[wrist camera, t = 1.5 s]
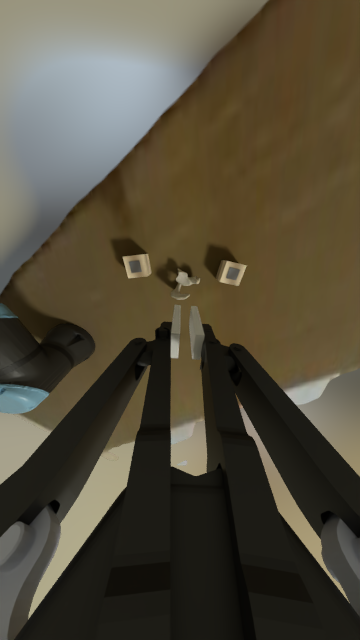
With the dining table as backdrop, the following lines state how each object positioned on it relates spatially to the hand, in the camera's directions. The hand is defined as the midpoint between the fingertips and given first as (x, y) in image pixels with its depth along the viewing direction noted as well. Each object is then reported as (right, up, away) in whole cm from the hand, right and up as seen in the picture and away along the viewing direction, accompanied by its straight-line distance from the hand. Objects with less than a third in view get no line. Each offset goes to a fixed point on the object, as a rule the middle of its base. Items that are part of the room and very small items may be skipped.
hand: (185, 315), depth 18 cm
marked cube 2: (-11, +15, +20) cm, 27 cm away
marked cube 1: (+13, +13, +21) cm, 27 cm away
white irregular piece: (0, +11, +22) cm, 25 cm away
